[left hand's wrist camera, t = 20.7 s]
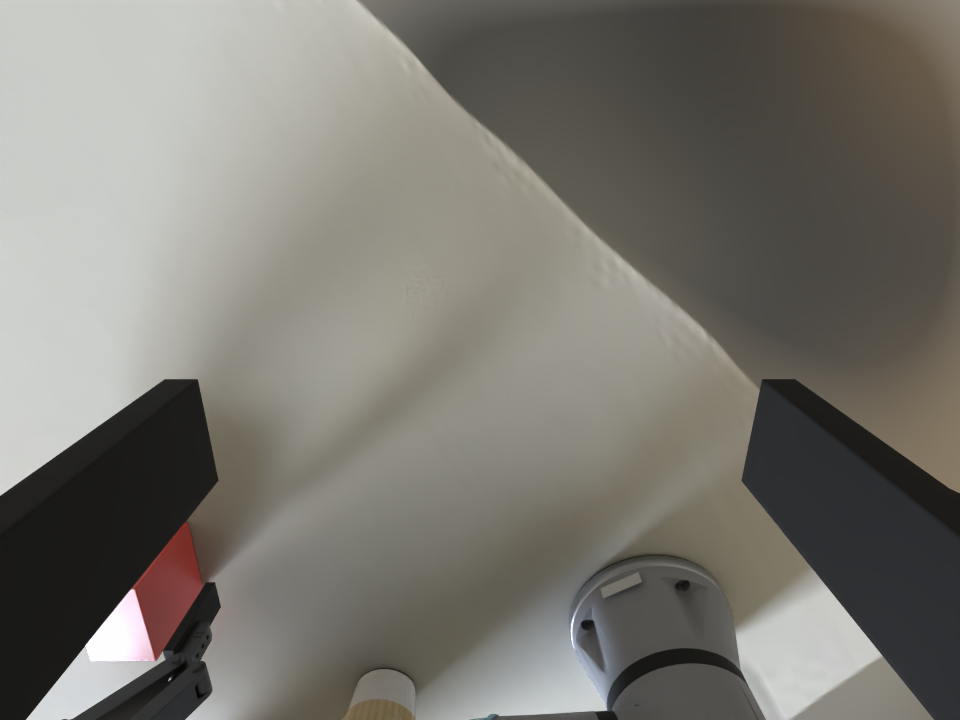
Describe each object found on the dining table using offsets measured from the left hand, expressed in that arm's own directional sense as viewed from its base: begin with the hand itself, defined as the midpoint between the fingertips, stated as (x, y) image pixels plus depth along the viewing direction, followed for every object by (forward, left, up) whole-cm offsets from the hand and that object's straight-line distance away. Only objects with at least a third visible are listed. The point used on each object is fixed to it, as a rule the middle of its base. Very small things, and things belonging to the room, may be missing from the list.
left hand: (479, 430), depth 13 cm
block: (-11, +40, -29) cm, 50 cm away
